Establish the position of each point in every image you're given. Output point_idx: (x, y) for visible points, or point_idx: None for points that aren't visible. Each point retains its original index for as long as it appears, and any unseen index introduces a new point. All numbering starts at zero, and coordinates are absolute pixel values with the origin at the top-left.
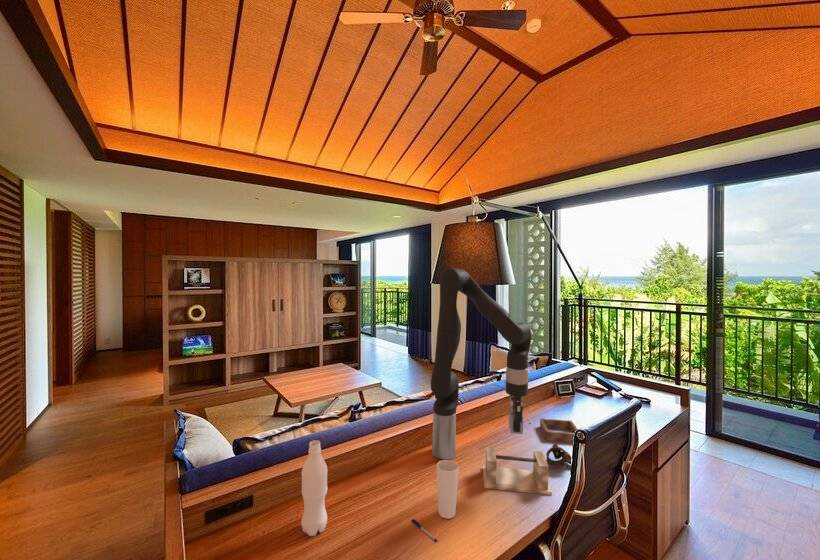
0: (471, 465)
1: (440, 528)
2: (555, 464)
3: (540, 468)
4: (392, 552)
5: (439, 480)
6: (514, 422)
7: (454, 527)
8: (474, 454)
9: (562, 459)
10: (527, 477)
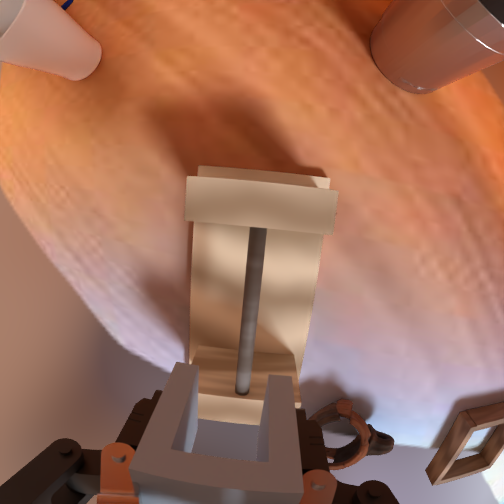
0: (345, 138)
1: None
2: None
3: None
4: None
5: (11, 13)
6: (135, 440)
7: (45, 86)
8: (420, 166)
9: None
10: (260, 330)
